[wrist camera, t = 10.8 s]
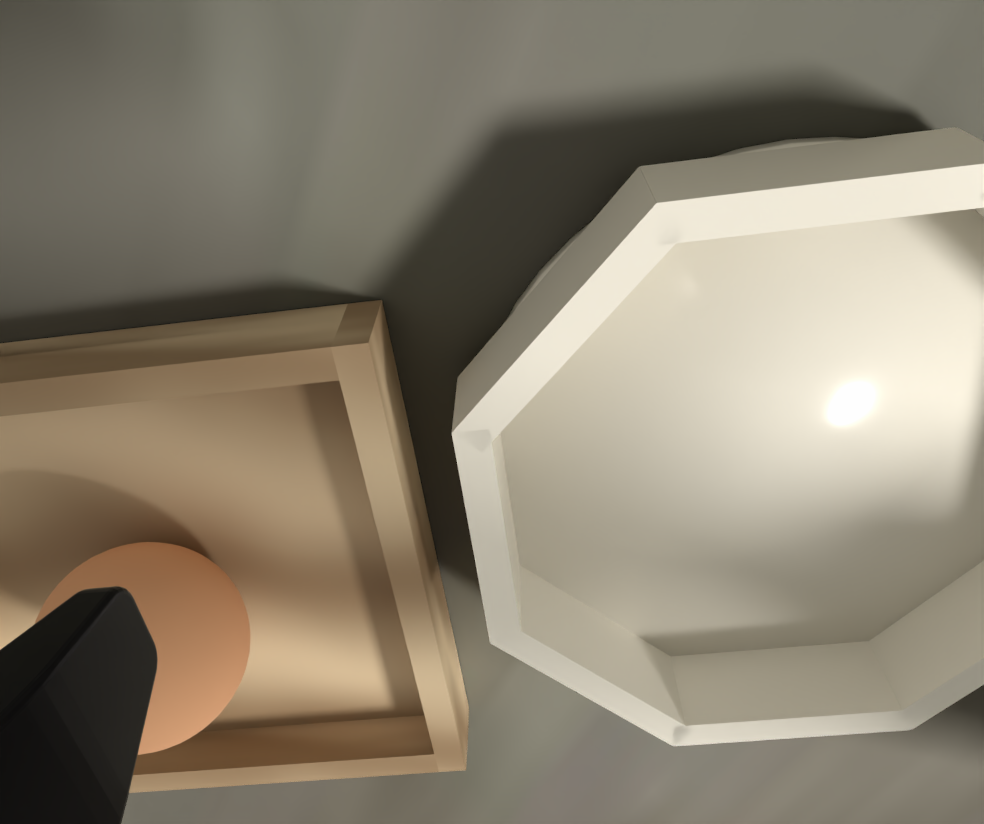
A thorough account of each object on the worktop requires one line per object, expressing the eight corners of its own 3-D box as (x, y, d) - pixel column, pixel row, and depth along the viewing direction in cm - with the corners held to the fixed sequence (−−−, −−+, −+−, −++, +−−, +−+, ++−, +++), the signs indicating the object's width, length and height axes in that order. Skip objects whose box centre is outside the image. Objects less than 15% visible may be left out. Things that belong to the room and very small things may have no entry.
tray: (469, 708, 27) (465, 769, 25) (45, 739, 28) (12, 800, 26) (382, 299, 20) (368, 343, 18) (-183, 364, 21) (-253, 411, 19)
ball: (288, 632, 24) (249, 789, 20) (117, 650, 24) (42, 811, 20) (239, 490, 22) (181, 636, 17) (48, 513, 22) (-55, 662, 18)
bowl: (1026, 632, 25) (1086, 718, 22) (511, 671, 26) (511, 757, 23) (1172, 91, 17) (1289, 126, 14) (428, 183, 18) (414, 232, 16)
